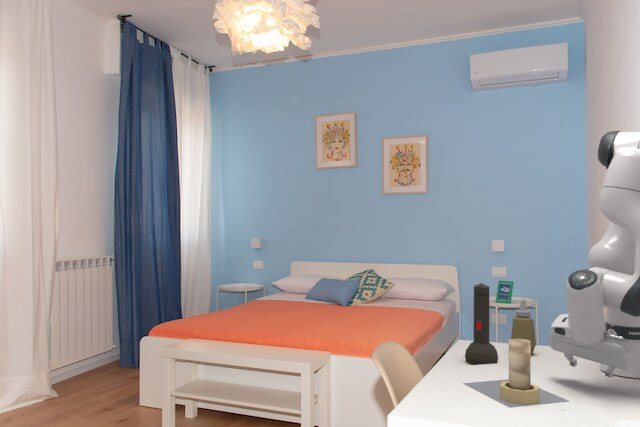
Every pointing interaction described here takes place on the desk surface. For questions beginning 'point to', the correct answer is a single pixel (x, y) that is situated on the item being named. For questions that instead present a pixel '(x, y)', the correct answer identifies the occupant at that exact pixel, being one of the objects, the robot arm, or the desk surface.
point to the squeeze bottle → (524, 326)
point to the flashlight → (481, 330)
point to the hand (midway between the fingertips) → (591, 370)
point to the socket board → (495, 393)
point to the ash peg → (519, 364)
